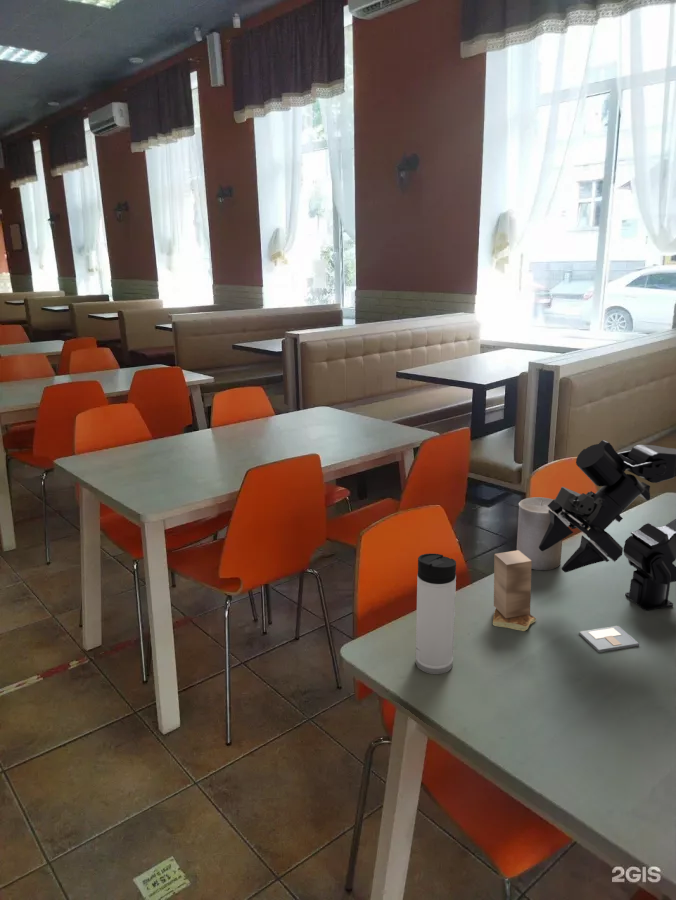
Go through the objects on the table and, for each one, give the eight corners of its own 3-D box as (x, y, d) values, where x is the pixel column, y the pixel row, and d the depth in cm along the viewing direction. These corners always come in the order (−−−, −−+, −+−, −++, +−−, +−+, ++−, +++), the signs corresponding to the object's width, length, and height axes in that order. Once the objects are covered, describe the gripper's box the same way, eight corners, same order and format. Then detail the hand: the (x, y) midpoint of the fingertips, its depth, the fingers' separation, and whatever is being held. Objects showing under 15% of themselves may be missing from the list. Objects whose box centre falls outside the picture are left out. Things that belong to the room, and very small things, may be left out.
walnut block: (517, 601, 130) (518, 550, 127) (530, 614, 126) (531, 560, 123) (493, 605, 129) (494, 553, 126) (505, 618, 125) (506, 564, 122)
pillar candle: (553, 551, 155) (557, 491, 150) (566, 570, 145) (570, 506, 141) (511, 552, 155) (514, 491, 151) (521, 571, 146) (524, 507, 141)
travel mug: (406, 665, 113) (408, 557, 107) (430, 649, 117) (433, 545, 112) (436, 680, 109) (439, 570, 103) (460, 663, 113) (464, 556, 107)
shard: (500, 601, 134) (500, 593, 134) (539, 607, 132) (539, 599, 131) (490, 628, 125) (491, 619, 124) (532, 636, 122) (533, 627, 122)
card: (617, 628, 123) (617, 625, 123) (638, 645, 117) (639, 642, 117) (578, 634, 121) (579, 631, 121) (598, 652, 116) (598, 649, 115)
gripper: (560, 459, 130) (504, 516, 132) (613, 491, 113) (548, 556, 114) (593, 493, 134) (538, 548, 135) (650, 530, 116) (586, 592, 118)
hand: (551, 559), depth 126 cm, fingers open, 9 cm apart
